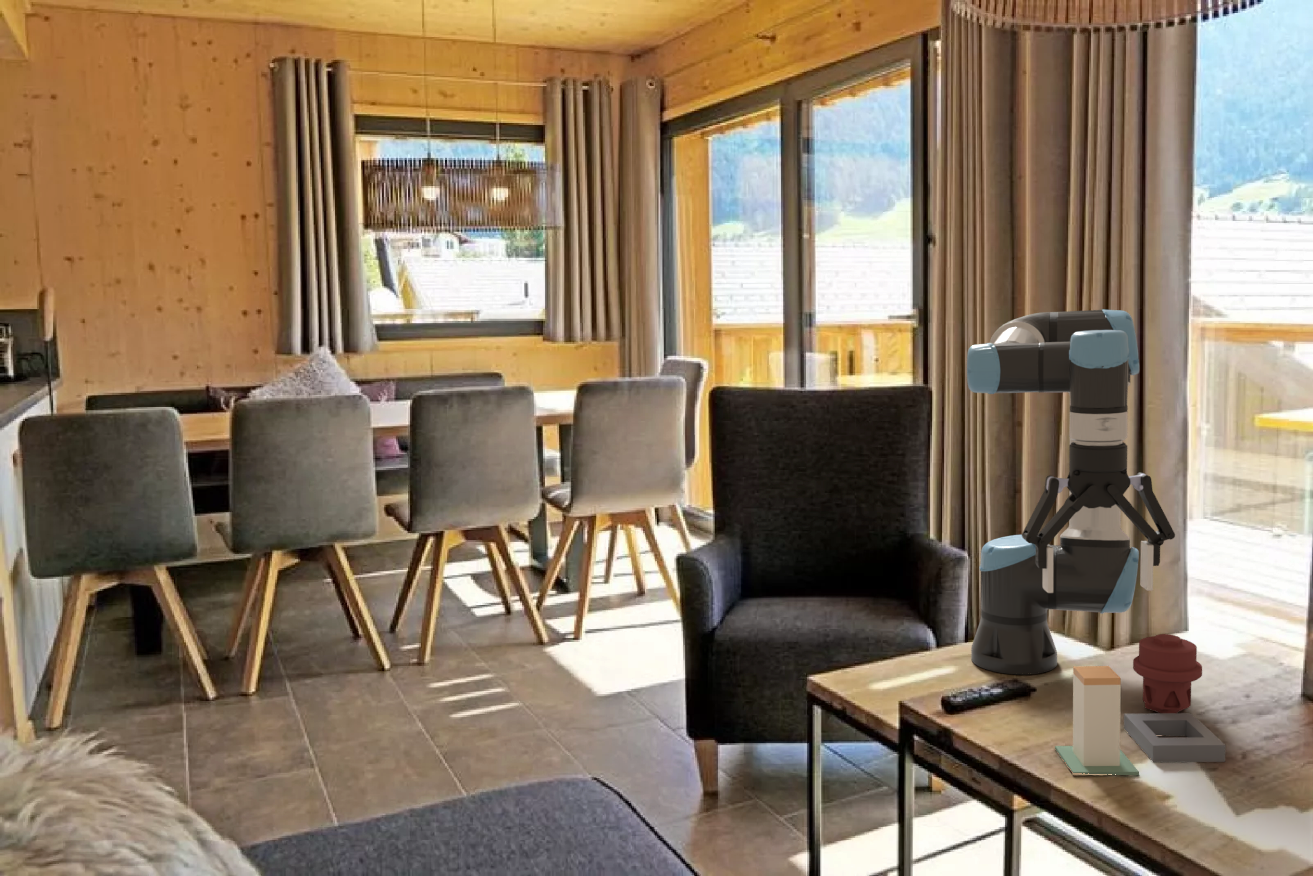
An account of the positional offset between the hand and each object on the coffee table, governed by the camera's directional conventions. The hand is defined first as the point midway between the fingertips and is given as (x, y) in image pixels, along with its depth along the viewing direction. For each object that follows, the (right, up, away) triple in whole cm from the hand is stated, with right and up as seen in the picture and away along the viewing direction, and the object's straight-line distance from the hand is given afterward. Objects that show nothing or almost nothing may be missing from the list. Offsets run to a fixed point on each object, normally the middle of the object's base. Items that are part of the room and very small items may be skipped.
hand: (1096, 589), depth 152 cm
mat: (+1, -26, +3) cm, 26 cm away
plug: (+1, -25, +3) cm, 25 cm away
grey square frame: (+14, -24, +8) cm, 29 cm away
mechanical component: (+20, -23, +20) cm, 36 cm away
